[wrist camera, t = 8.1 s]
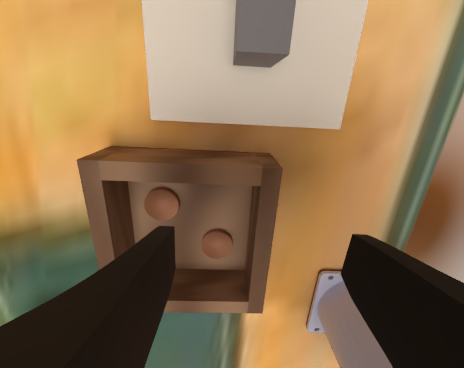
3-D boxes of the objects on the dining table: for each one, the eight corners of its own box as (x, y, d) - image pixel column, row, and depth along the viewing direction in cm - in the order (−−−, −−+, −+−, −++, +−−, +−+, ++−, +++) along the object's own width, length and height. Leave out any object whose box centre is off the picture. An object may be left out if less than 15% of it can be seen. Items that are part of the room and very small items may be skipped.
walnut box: (269, 153, 17) (282, 168, 13) (255, 275, 21) (262, 313, 18) (110, 146, 16) (76, 159, 13) (128, 273, 21) (107, 311, 17)
